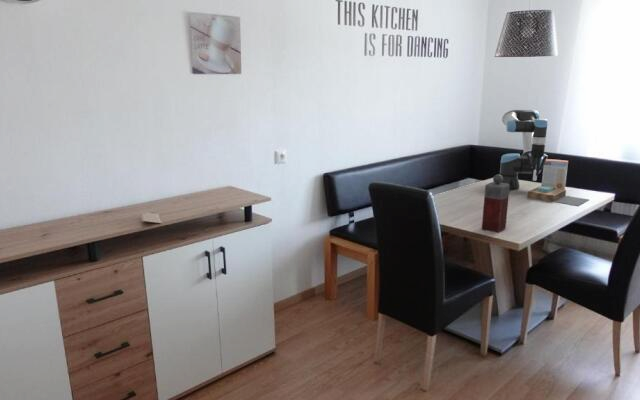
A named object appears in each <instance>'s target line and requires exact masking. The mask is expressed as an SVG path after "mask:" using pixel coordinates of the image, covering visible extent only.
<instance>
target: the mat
mask: <svg viewBox="0 0 640 400" xmlns="http://www.w3.org/2000/svg"><path fill="white" fill-rule="evenodd" d="M588 201H590V199H588V198H582V197H576V196H570V195H565V196H564V197H562V198H560V199H558V200H556V201H554V202H553V203H557V204H558V203H559V204H563V205H564V204H565V205H569V206H570V205H571V206H576V207H579V206H581V205H583V204H585V203H586V202H588Z"/></svg>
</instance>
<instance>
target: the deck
mask: <svg viewBox="0 0 640 400" xmlns="http://www.w3.org/2000/svg"><path fill="white" fill-rule="evenodd" d="M539 187H541V186H537V187H535V188H533V189H530V190H528V191H527V198H528V199H534V200H539V201H541V200H542V201H546V202H551V203H555V202H554V201H556V200H558V199H560V198H562V197H564V196H567V195H566V193H567V189H565V190H562V189H556V188H553V190H552V191H550V192H542V191H538V188H539Z"/></svg>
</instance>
